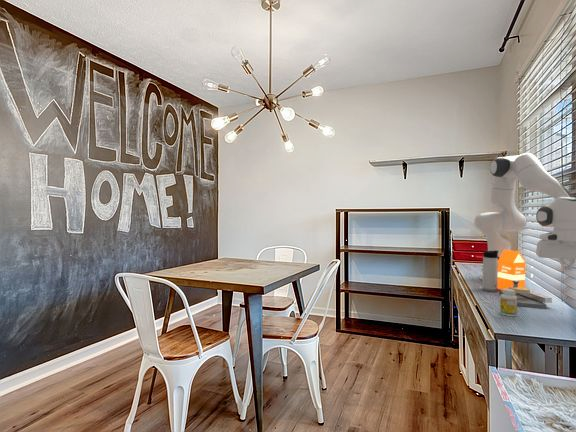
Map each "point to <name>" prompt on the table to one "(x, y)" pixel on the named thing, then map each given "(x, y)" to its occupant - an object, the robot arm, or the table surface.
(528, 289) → the keeper clip
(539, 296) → the arm link
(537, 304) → the base plate
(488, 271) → the travel mug
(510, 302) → the supplement bottle
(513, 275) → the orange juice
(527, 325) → the table surface
